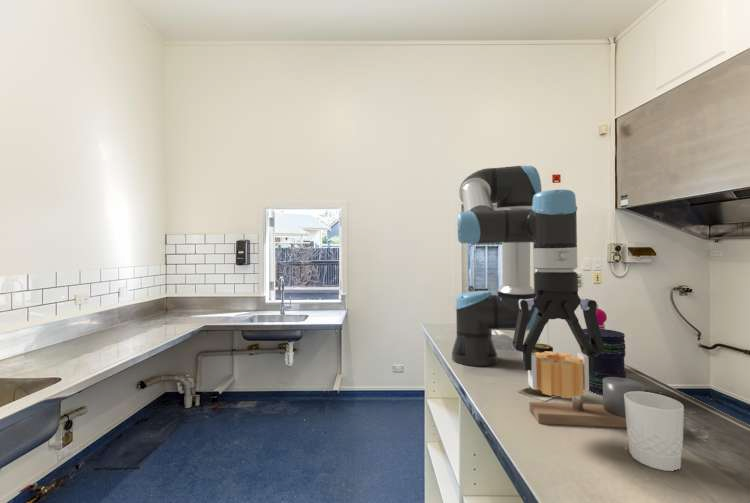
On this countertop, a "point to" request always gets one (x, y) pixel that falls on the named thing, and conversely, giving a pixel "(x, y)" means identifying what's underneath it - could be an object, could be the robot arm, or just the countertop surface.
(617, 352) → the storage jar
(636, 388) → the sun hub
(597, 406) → the carrier bar
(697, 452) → the countertop surface
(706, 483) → the countertop surface
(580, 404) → the steel pin
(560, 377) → the planet gear
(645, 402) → the white cup
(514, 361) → the countertop surface
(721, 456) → the countertop surface
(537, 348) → the condiment
